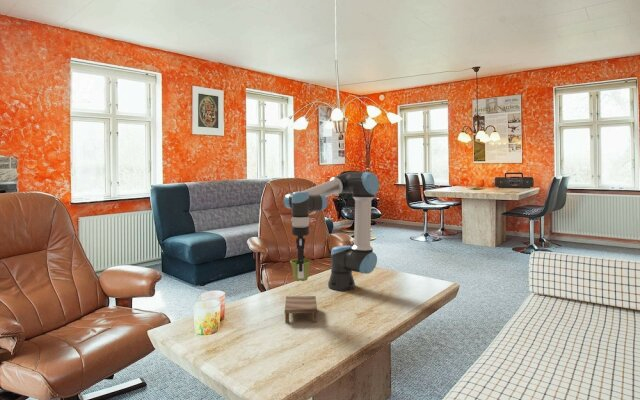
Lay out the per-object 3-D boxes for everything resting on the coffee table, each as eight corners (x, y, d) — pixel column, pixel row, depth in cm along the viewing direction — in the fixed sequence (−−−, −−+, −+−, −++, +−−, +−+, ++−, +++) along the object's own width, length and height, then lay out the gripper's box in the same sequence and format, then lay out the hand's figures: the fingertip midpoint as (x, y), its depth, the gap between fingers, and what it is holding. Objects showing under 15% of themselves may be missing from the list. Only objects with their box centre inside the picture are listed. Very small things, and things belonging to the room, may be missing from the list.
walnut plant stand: (286, 308, 191) (286, 296, 191) (315, 308, 192) (315, 295, 191) (284, 323, 173) (284, 309, 173) (317, 322, 174) (317, 309, 174)
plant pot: (285, 279, 181) (285, 261, 180) (300, 275, 188) (300, 257, 187) (300, 284, 175) (300, 264, 174) (315, 279, 182) (315, 260, 181)
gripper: (292, 222, 190) (292, 269, 192) (291, 229, 168) (291, 282, 170) (308, 222, 191) (308, 269, 192) (309, 229, 169) (309, 281, 170)
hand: (300, 275), depth 181 cm, fingers closed on plant pot, 9 cm apart
